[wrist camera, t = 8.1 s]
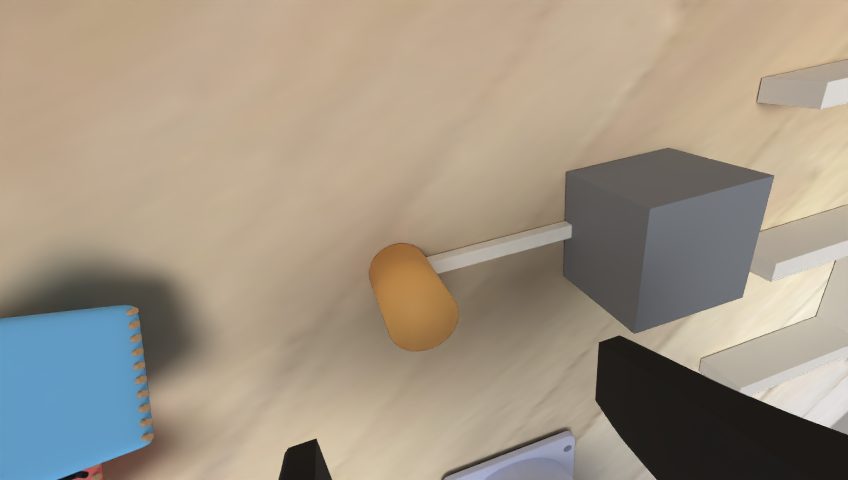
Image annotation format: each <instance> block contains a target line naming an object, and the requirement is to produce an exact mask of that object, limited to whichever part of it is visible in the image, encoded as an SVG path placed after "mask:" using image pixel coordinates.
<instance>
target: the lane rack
mask: <svg viewBox="0 0 848 480" xmlns="http://www.w3.org/2000/svg"><path fill="white" fill-rule="evenodd" d="M757 102H760V103H769V104H777V105H786V106H795V107H804V108H813V109H824V108H828V107H832V106H836V105H840V104H844V103H848V60H843V61H839V62H834V63H829V64H825V65H820V66H816V67H811V68H807V69H802V70H797V71H793V72H788V73H784V74H779V75H774V76H770V77H765V78H762V81H761V86H760V91H759V95H758V100H757ZM834 260H836V262H835V265H834V268H833V271H832V273H831V276H830V279H829V282H828V284H827V287H826V290H825V293H824V296H823V298H822V301H821V304H820V307H819V310H818V312H817V315H816V317H813V318H810V319H808V320H805V321H802V322H800V323H797V324H794V325H791V326H789V327H786V328H783V329H781V330H778V331H775V332H773V333H770V334H767V335H764V336H762V337H759V338H756V339H754V340H751V341H748V342H745V343H743V344H740V345H737V346H735V347H732V348H729V349H727V350H724V351H721V352H718V353H716V354H713V355H710V356H708V357H705V358H702V359H701V364H700V368H699V371H700V372H701V373H702V374H703V375H705V376H706V377H708V378H710V379H712V380H714V381H716V382H718V383H721V384H723V385H725V386H727V387H729V388H732V389H734V390H736V391H738V392H741V393H743V394H745V395H747V396H751V395H754V394H756V393H759V392H761V391H764V390H766V389H769V388H771V387H773V386H776V385H778V384H781V383H783V382H786V381H788V380H791V379H793V378H796V377H798V376H801V375H803V374H806V373H808V372H811V371H813V370H816V369H818V368H821V367H823V366H826V365H828V364H831V363H833V362H836V361H838V360H841V359H843V358H846V357H848V205H845V206H842V207H839V208H836V209H832V210H829V211H826V212H823V213H819V214H816V215H813V216H810V217H806V218H803V219H800V220H797V221H793V222H790V223H787V224H784V225H780V226H777V227H774V228H771V229H767V230H764V231H761V232H759V236H758V240H757V244H756V247H755V251H754V255H753V259H752V263H751V267H750V270H749V271H750V272H752V273H754V274H756V275H758V276H760V277H762V278H764V279H766V280H768V281H770V282H772V281H775V280H778V279H781V278H784V277H787V276H790V275H793V274H796V273H799V272H802V271H805V270H808V269H811V268H814V267H817V266H819V265H822V264H825V263H828V262H831V261H834Z"/></svg>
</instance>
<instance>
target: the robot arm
mask: <svg viewBox="0 0 848 480" xmlns="http://www.w3.org/2000/svg"><path fill="white" fill-rule="evenodd" d="M595 400H596V402H597V403H598V405H599V406H600V408H601V409H602V411H603V412H604V414H605V415H606V417H607V418H608V420H609V421H610V423H611V424H612V426H613V427H614V428H615V430H616V431H617V433H618V434H619V436H620V437H621V438H622V439H623V441H624V442H625V443H626V444H627V445H628V447H629V448H630V449H631V450H632V451H633V452H634V454H635V455H636V456H637V457H638V458H639V460H640V461H641V462H642V463H643V464H644V465H645V467H646V468H647V469H648V470H649V471H650V472H651V474H652V475H653V476H654V477H655V478H656V479H657V480H848V435H847V434H844V433H841V432H839V431H836V430H833V429H830V428H828V427H825V426H822V425H819V424H817V423H814V422H811V421H809V420H806V419H803V418H801V417H798V416H796V415H793V414H790V413H788V412H785V411H783V410H781V409H778V408H776V407H773V406H771V405H769V404H766V403H764V402H762V401H759V400H757V399H754V398H752V397H750V396H747V395H745V394H743V393H741V392H738V391H736V390H734V389H732V388H729V387H727V386H725V385H723V384H721V383H718V382H716V381H714V380H712V379H710V378H708V377H705V376H703V375H701V374H699V373H697V372H695V371H693V370H691V369H689V368H687V367H684V366H682V365H680V364H678V363H676V362H674V361H672V360H670V359H668V358H666V357H664V356H662V355H660V354H658V353H656V352H654V351H652V350H649V349H647V348H645V347H643V346H641V345H639V344H637V343H635V342H633V341H631V340H628V339H626V338H624V337H622V336H617V337H614V338H611V339H608V340H605V341H602V342H599V350H598V366H597V382H596V398H595ZM574 454H575V437H574V436H573V434H572V433H571V432H569V431H565V432H562V433H559V434H557V435H554V436H552V437H549V438H546V439H544V440H541V441H538V442H536V443H533V444H531V445H528V446H525V447H523V448H520V449H517V450H515V451H512V452H510V453H507V454H504V455H502V456H499V457H496V458H494V459H491V460H489V461H486V462H483V463H481V464H478V465H475V466H473V467H470V468H468V469H465V470H462V471H460V472H457V473H455V474H452V475H449V476H447V477H446V478H445V479H444V480H574ZM279 480H332V478H331V476H330V473H329V470H328V468H327V465H326V463H325V460H324V457H323V455H322V452H321V450H320V447H319V444H318V442H317V439H313V440H311V441H308V442H305V443H302V444H299V445H296V446H293V447H290V448H288V449H287V451H286V452H285V455H284V459H283V464H282V468H281V472H280V476H279Z"/></svg>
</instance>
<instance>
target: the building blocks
mask: <svg viewBox="0 0 848 480" xmlns="http://www.w3.org/2000/svg"><path fill="white" fill-rule="evenodd" d="M138 312H139V309H138V308H136V307H134V306H131V305H117V306H108V307H99V308H90V309H81V310H72V311H63V312H54V313H45V314H36V315H27V316H18V317H9V318H0V480H103V471H102V463H103V462H106V461H108V460H111V459H114V458H116V457H119V456H122V455H124V454H127V453H130V452H132V451H135V450H137V449H140V448H142V447H144V446H146V445H148V444H150V443H151V441H152V439H153V438H154V434H153V426H152V418H151V410H150V401H149V392H148V385H147V377H146V369H145V360H144V350H143V344H142V336H141V328H140V321H139V315H138Z"/></svg>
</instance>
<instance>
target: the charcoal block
mask: <svg viewBox="0 0 848 480" xmlns="http://www.w3.org/2000/svg"><path fill="white" fill-rule="evenodd" d="M773 179H774V175H770V174H766V173H762V172H758V171H755V170H751V169H747V168H743V167H739V166H735V165H731V164H728V163H724V162H720V161H716V160H712V159H708V158H705V157H701V156H697V155H693V154H689V153H685V152H681V151H678V150H674V149H670V148H666V149H662V150H658V151H653V152H649V153H645V154H641V155H636V156H632V157H628V158H624V159H619V160H615V161H611V162H607V163H602V164H598V165H594V166H590V167H585V168H581V169H577V170H573V171H568V172H566V200H565V221H562V222H558V223H555V224H551V225H547V226H543V227H539V228H536V229H532V230H528V231H524V232H520V233H516V234H513V235H509V236H505V237H501V238H497V239H494V240H490V241H486V242H482V243H478V244H475V245H471V246H467V247H463V248H459V249H455V250H452V251H448V252H444V253H440V254H436V255H433V256H429V257H425V255H424V254H423V252H422V251H421V250H420V249H418V248H417V247H415V246H413V245H410V244H395V245H391V246H389V247H387V248H385V249H383V250H382V251H381V252H379V253H378V254H377V255H376V257H375V258H374V259H373V261H372V263H371V266H370V270H369V278H370V282H371V285H372V287H373V290H374V293H375V296H376V299H377V301H378V304H379V307H380V310H381V313H382V315H383V318H384V321H385V324H386V327H387V330H388V332H389V335H390V337H391V339H392V340H393V342H394V343H395V344H396V345H398V346H399V347H401V348H403V349H405V350H409V351H424V350H428V349H431V348H434V347H436V346H438V345H439V344H441V343H442V342H444V341H445V340H446V339H447V338H448V337H449V336H450V335H451V333H452V332H453V331H454V329H455V327H456V325H457V322H458V316H459V311H458V306H457V304H456V302H455V300H454V299H453V297H452V296H451V294H450V293H449V291H448V290H447V288H446V287H445V285H444V284H443V282H442V281H441V279H440V278H439V276H438V275H437V274H440V273H444V272H447V271H451V270H455V269H458V268H462V267H466V266H469V265H473V264H477V263H480V262H484V261H488V260H491V259H495V258H499V257H502V256H506V255H510V254H513V253H517V252H521V251H524V250H528V249H532V248H535V247H539V246H543V245H546V244H550V243H554V242H557V241H561V240H564V276H565V277H566V278H567V279H568V280H569V281H571V282H572V283H573V284H574V285H576V286H577V287H578V288H579V289H580V290H582V291H583V292H584V293H585V294H586V295H588V296H589V297H590V298H591V299H593V300H594V301H595V302H596V303H597V304H599V305H600V306H601V307H602V308H604V309H605V310H606V311H607V312H608V313H610V314H611V315H612V316H613V317H614V318H616V319H617V320H618V321H619V322H621V323H622V324H623V325H624V326H625V327H627V328H628V329H629V330H630V331H632V332H633V333H634V334H635V333H638V332H641V331H644V330H647V329H650V328H653V327H656V326H659V325H662V324H665V323H668V322H671V321H674V320H677V319H680V318H683V317H686V316H689V315H691V314H694V313H697V312H700V311H703V310H706V309H709V308H712V307H715V306H718V305H721V304H724V303H727V302H730V301H733V300H736V299H739V298H742V297H743V293H744V289H745V286H746V282H747V278H748V274H749V270H750V267H751V263H752V259H753V255H754V251H755V247H756V244H757V240H758V236H759V232H760V228H761V225H762V221H763V217H764V213H765V209H766V206H767V202H768V198H769V194H770V190H771V186H772V183H773Z"/></svg>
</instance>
